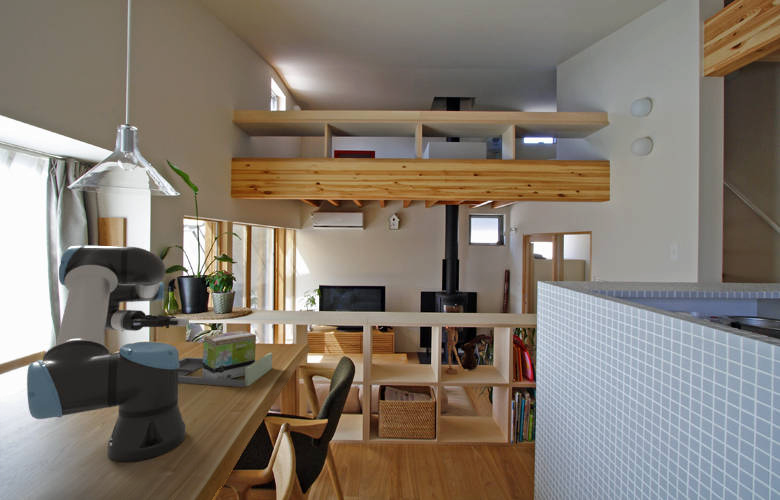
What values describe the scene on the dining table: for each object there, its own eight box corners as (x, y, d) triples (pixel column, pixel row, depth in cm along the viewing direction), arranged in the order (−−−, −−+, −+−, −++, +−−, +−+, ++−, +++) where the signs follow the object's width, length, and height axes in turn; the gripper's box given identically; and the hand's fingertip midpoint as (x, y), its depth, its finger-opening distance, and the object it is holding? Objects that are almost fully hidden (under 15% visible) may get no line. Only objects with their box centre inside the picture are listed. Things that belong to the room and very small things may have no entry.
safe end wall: (248, 386, 120) (248, 368, 120) (244, 385, 120) (245, 368, 120) (271, 368, 137) (272, 353, 137) (268, 368, 138) (269, 352, 138)
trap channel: (243, 387, 119) (243, 381, 119) (146, 380, 122) (146, 374, 122) (269, 367, 139) (270, 362, 139) (186, 362, 142) (186, 357, 142)
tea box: (214, 384, 120) (215, 341, 120) (201, 377, 127) (202, 335, 127) (255, 373, 132) (256, 333, 132) (242, 367, 138) (243, 329, 138)
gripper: (143, 326, 141) (198, 329, 139) (114, 333, 128) (174, 336, 126) (143, 307, 141) (199, 309, 139) (114, 313, 128) (175, 315, 126)
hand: (187, 322), depth 132 cm, fingers closed
